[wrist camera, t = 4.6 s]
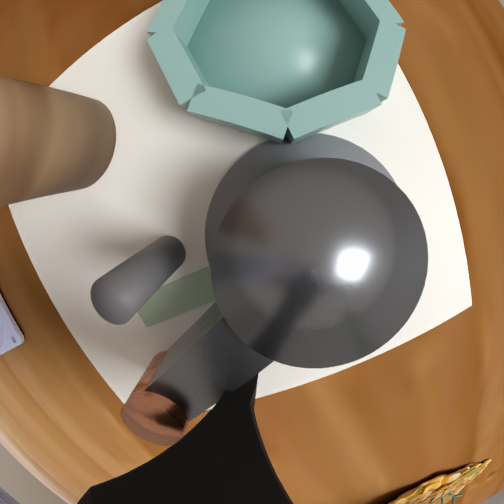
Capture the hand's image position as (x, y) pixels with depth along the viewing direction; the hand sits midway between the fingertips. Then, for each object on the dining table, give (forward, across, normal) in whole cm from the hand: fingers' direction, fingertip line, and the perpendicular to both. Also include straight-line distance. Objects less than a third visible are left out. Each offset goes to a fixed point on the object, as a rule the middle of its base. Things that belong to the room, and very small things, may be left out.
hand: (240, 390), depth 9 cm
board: (+2, +2, -6) cm, 7 cm away
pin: (+1, +7, -8) cm, 11 cm away
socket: (+2, 0, -12) cm, 12 cm away
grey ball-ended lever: (+1, 0, -3) cm, 3 cm away
